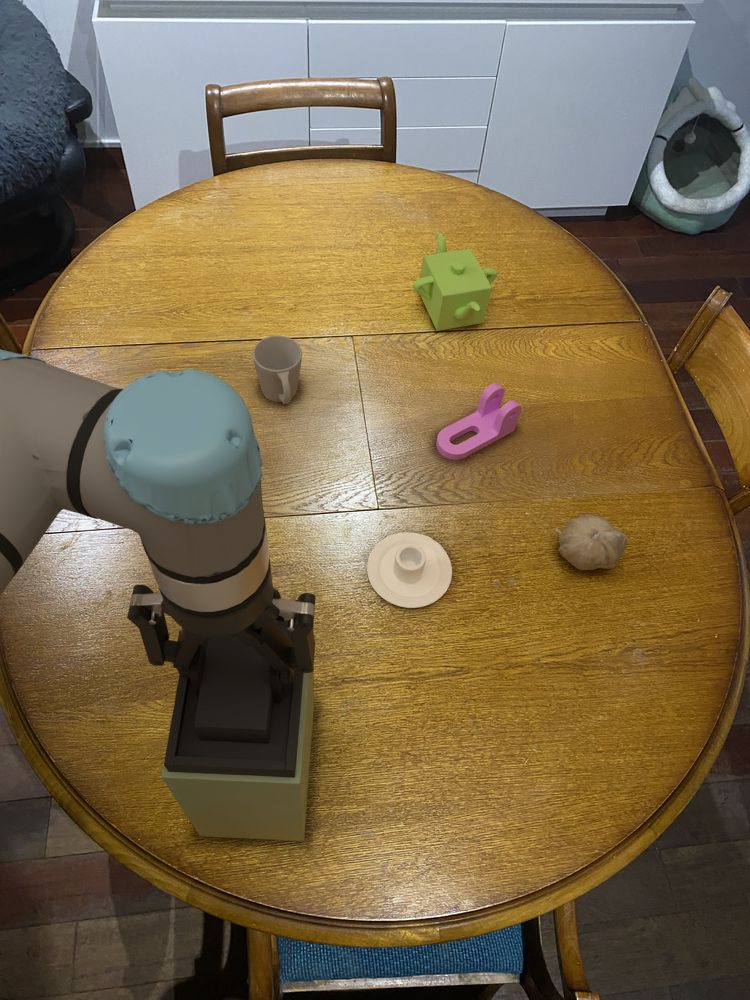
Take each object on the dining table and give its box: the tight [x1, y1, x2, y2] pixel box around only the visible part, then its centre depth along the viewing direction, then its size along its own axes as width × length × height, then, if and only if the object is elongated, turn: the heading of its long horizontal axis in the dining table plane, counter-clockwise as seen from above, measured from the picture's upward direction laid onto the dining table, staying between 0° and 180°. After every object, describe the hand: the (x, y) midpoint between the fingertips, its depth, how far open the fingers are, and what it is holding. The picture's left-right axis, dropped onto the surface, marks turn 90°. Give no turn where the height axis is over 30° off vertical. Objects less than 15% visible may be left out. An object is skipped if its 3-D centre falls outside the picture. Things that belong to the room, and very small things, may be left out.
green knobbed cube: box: [412, 232, 499, 332], centre depth 136 cm, size 15×13×11 cm
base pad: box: [163, 616, 304, 778], centre depth 71 cm, size 11×15×2 cm
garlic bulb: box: [554, 513, 629, 571], centre depth 110 cm, size 9×8×10 cm
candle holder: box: [366, 531, 453, 609], centre depth 109 cm, size 12×12×4 cm
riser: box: [161, 626, 315, 842], centre depth 84 cm, size 12×16×27 cm
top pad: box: [194, 620, 279, 744], centre depth 70 cm, size 10×6×4 cm, turn 178°
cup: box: [252, 335, 303, 405], centre depth 124 cm, size 8×10×8 cm
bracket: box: [435, 382, 523, 461], centre depth 122 cm, size 13×6×7 cm, turn 124°
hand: (241, 685), depth 71 cm, fingers closed on top pad, 6 cm apart
